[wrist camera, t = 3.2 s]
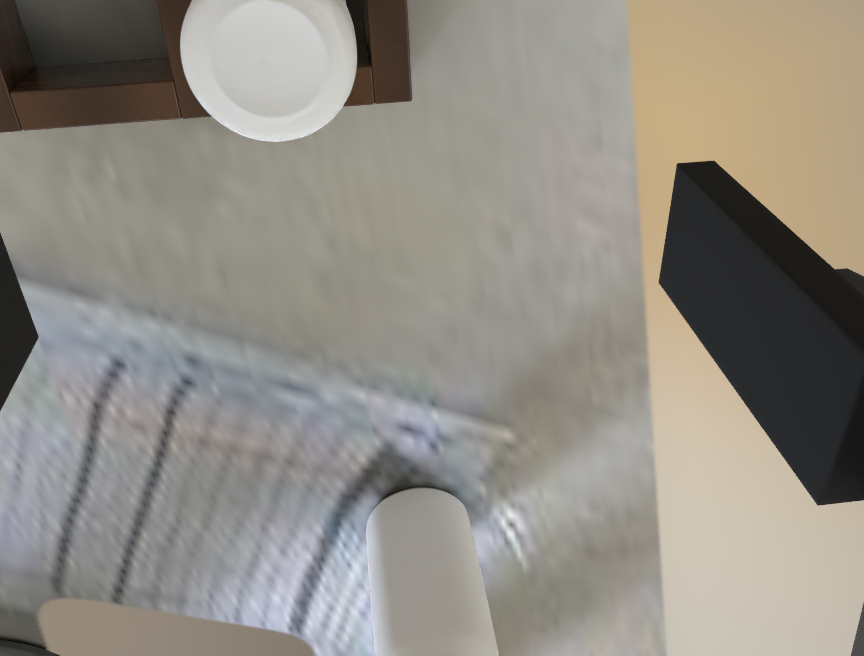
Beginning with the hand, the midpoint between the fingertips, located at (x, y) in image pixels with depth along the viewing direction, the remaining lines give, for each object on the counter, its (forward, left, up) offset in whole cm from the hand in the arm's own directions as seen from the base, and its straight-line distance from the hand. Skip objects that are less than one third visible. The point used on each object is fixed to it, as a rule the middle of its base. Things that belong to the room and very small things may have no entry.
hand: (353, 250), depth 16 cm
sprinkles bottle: (-2, +2, -21) cm, 21 cm away
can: (+2, -30, -21) cm, 36 cm away
